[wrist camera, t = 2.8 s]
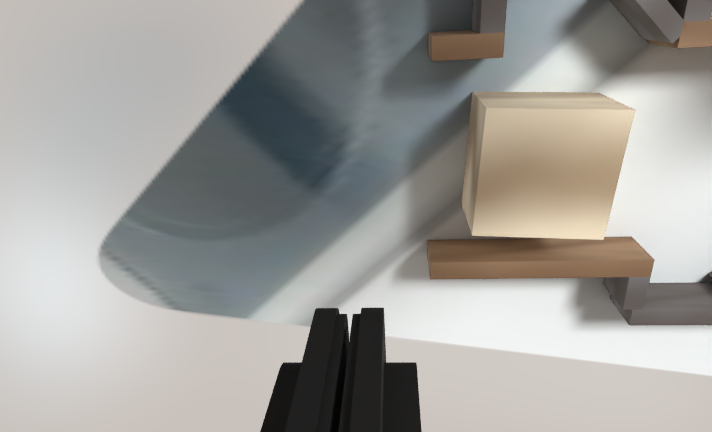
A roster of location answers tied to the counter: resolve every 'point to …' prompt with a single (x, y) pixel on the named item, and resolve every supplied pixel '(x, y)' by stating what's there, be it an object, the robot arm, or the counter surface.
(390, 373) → the robot arm
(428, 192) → the counter surface
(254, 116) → the counter surface
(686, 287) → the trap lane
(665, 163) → the counter surface
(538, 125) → the block
